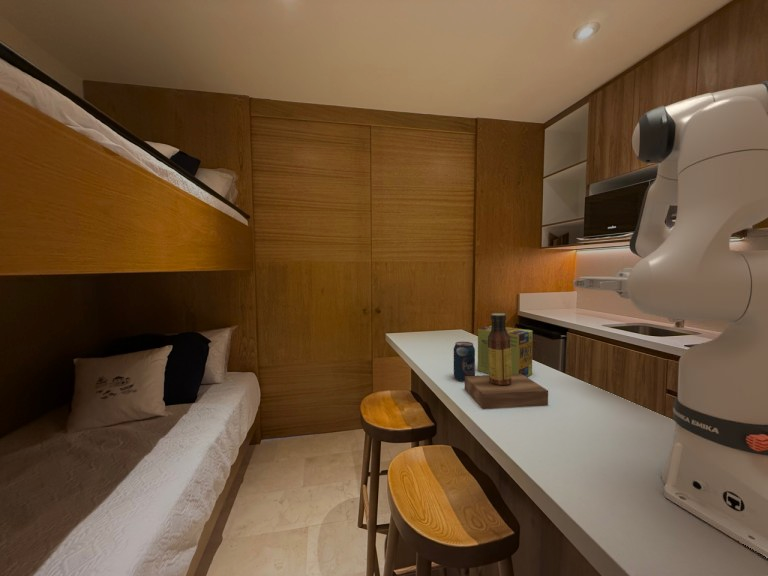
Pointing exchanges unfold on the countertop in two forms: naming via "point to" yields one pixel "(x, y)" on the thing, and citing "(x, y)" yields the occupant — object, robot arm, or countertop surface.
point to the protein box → (519, 350)
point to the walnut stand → (506, 392)
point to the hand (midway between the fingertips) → (586, 284)
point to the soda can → (464, 360)
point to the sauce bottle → (499, 351)
